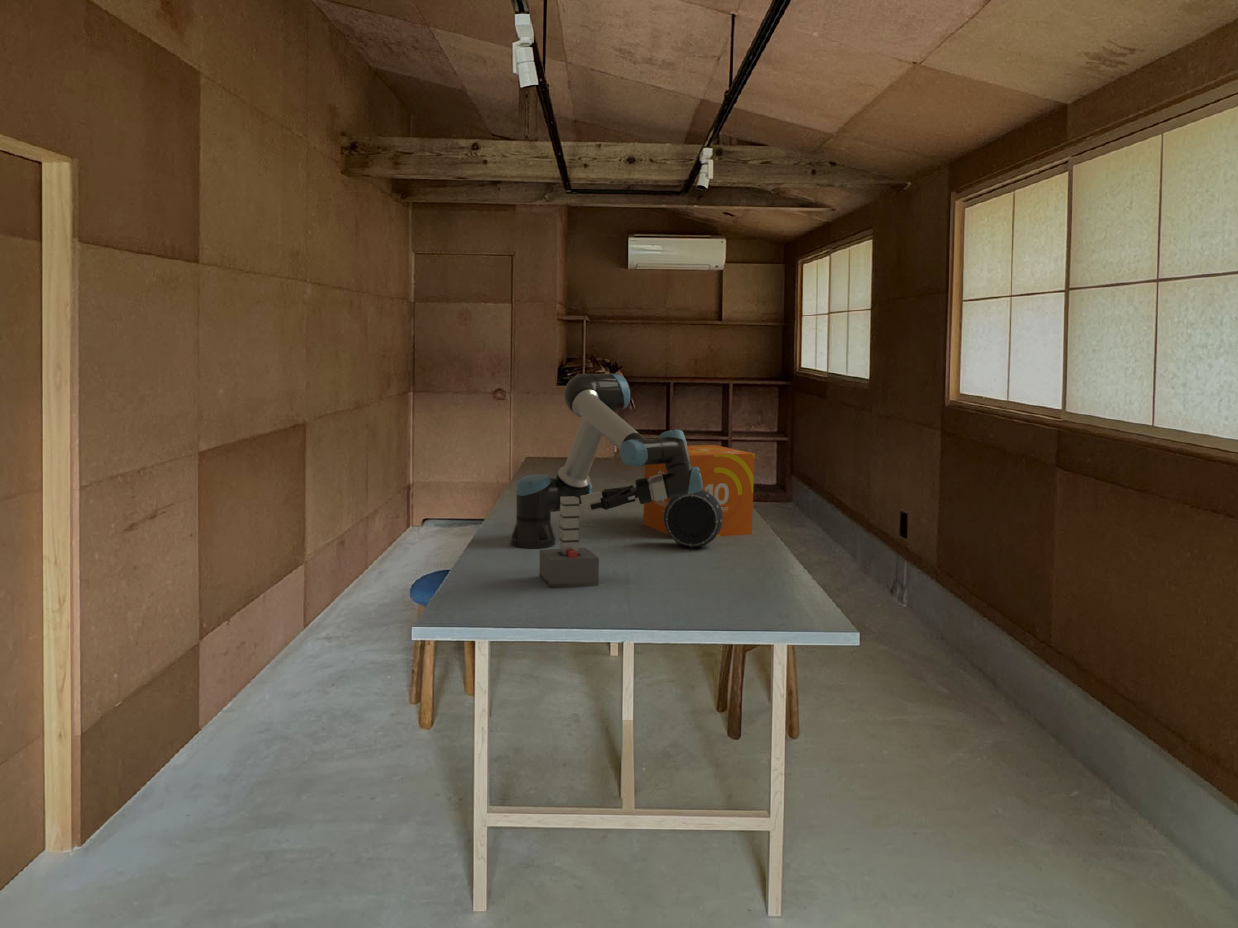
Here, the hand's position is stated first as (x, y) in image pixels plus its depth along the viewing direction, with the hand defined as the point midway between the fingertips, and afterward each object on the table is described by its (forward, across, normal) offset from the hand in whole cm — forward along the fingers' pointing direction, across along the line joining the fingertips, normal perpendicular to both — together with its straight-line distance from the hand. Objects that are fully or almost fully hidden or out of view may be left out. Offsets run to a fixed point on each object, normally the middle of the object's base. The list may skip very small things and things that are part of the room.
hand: (580, 504), depth 288 cm
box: (-35, +74, -32) cm, 88 cm away
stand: (+8, -10, -20) cm, 23 cm away
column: (+7, -10, -18) cm, 22 cm away
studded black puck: (-31, +42, -30) cm, 60 cm away
